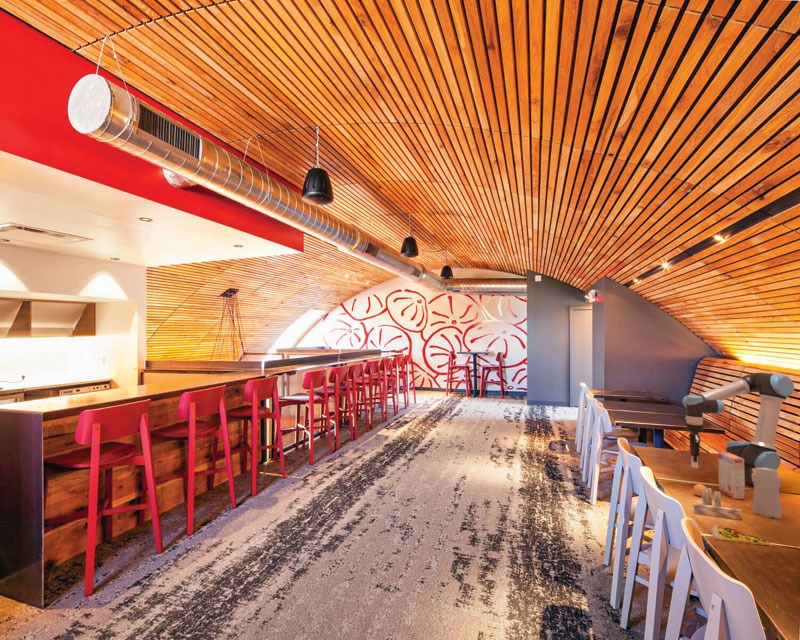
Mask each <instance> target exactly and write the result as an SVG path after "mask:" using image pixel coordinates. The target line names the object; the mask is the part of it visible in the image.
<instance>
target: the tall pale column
mask: <svg viewBox="0 0 800 640" xmlns="http://www.w3.org/2000/svg"><path fill="white" fill-rule="evenodd" d="M752 481H753V483H754V484H753V485H754V486H753V494H754V495H753V498H752V501H753V503H752V504H753V507H752V508H753V514H754V513H755V515H757V514H759V516H762V515H763V516H762V517H765V516H766V518H772V517H774V518H773V519H779V520H780V519H782V503H781V500H780V490H781V486H782V477H780V476H779V474H778V471H777V470H772V469H769V468H755V469H754V471H753V473H752Z"/></svg>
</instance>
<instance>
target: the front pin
mask: <svg viewBox="0 0 800 640" xmlns="http://www.w3.org/2000/svg"><path fill="white" fill-rule="evenodd" d="M706 490H707V491H708V505H710V506H713V504H712V503H713V497H712V496H713V495H712V493H713V491H712V488H710V487H706Z"/></svg>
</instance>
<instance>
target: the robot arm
mask: <svg viewBox="0 0 800 640" xmlns="http://www.w3.org/2000/svg"><path fill="white" fill-rule="evenodd" d="M794 391H795V384H794V382H793V380H792V379H791V378H790V377H789V376H787V375H785V374H780V373H772V372H771V373H769V372H768V373H767V372H753V373H751V374H746V375H743V376H741V377H737V378H736V379H734V381H732V382H729V383H726V384H724V385H721V386H717V387H716V388H713V389H710V390H707V391H704V392H701V393H698V394H695V395H694V394H693V395H692V394H688V395H685V396H684V397H683V398H682V405H683V407H685V415H686V416H685V417H684V419H685V420H686V421H685V422H686V424H685V429H686V431H687V432H690V433H689V434H688V437H689V452H690V455H691V456H690V457H691V461H690V462H691V468H694V469H699V456H700V446H701V438H700V437H701V436H700V434H699V433H703V432H704V430H703V429H704V426H703V424H704V417H703V416H704V414H715V415H716V414H723V413H724V412H725V410H726V404H725V403H724V400H727V399H730V398H732V397H733V398H734V397H736V396H739V395H742V394H743V395H747V394H750V393H757V394H758V396H759V397H760V399H761V400H760V405H759V411H758V416H757V421H756V427H755V432H754V438H753V440H752V441H741V440H729V441H727V442H726V448H725V449H726V450H725V451H726V452H728V453H731V454H734V455H736V456H738V457H740V458H743V459H744V475H745V486H747V485H753V484H754V483H753V481H752V473H754V471H753V469H754V470H755V468H769V469H772V470H776V471H777V470H778V469H779V468H780V466H781V463H782V459H781V457H780V455H779V454H778V453H777V452H778V449H777V448H776V446H775V441H776V440H775V439H776V435H777V431H778V430H777V429H778V425H779V420H780V413H781V409H782V408H781V407H782V403H783V402H784V403H785V401H787V398H788V397H790V396H792V395H793V394H794Z"/></svg>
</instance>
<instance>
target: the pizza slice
mask: <svg viewBox="0 0 800 640" xmlns="http://www.w3.org/2000/svg"><path fill="white" fill-rule="evenodd" d="M710 533H712V534H711V536H712V535H713V536H712V538H713V537H714V538H715V539H721V540H730V541H736V542H735V543H737V542H742V543H741V544H746V543H751V544H750V545H754V544H761V545H760V546H763V545H771V546H770V547H772V546H775V547H776V544H773V543H772V542H770V541H768V540H766V539H764V538H758V536H755V535H750V534H746V533H745V532H744V533H743V532H741V531H738V530H736V529H734V528H731V527H727V526H724V525H723V526H721V525H719V524H715V525H713V526H712V528H711V531H710ZM714 538H713V539H714ZM715 539H714V540H715Z"/></svg>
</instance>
